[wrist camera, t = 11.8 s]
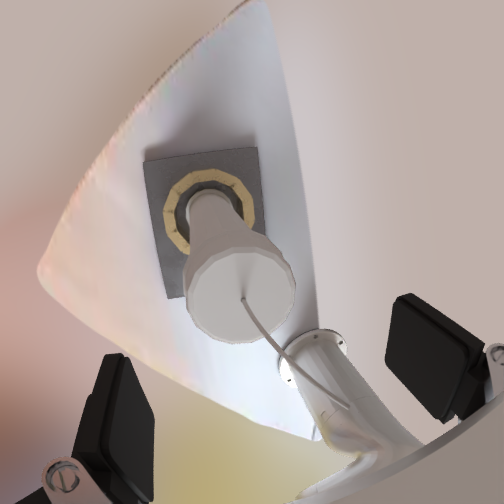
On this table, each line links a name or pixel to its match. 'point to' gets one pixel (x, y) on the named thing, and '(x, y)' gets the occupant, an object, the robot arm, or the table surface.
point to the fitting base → (184, 187)
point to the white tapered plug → (236, 278)
